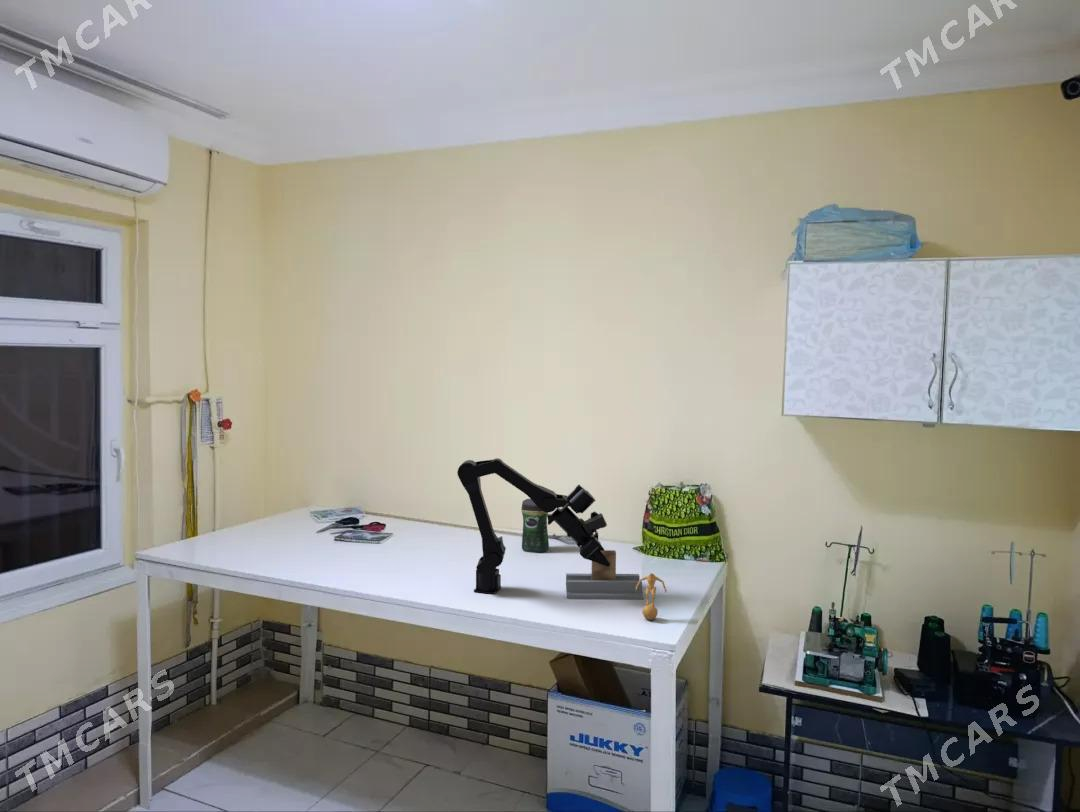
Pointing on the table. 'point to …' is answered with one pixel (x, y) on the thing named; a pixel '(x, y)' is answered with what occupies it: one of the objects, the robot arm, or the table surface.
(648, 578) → the figurine
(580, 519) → the robot arm
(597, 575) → the plaque
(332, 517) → the table surface
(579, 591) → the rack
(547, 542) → the coffee jar
